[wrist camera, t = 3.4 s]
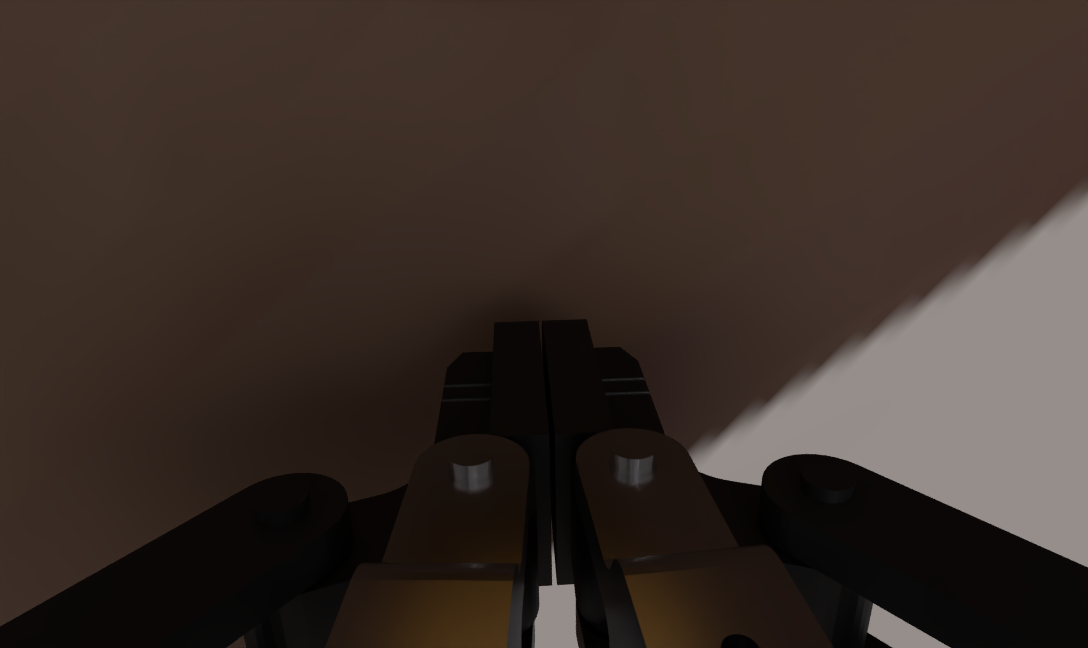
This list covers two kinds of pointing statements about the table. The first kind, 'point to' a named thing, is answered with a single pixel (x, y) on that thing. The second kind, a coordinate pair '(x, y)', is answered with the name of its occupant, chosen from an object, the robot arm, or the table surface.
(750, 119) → the table surface
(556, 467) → the robot arm
